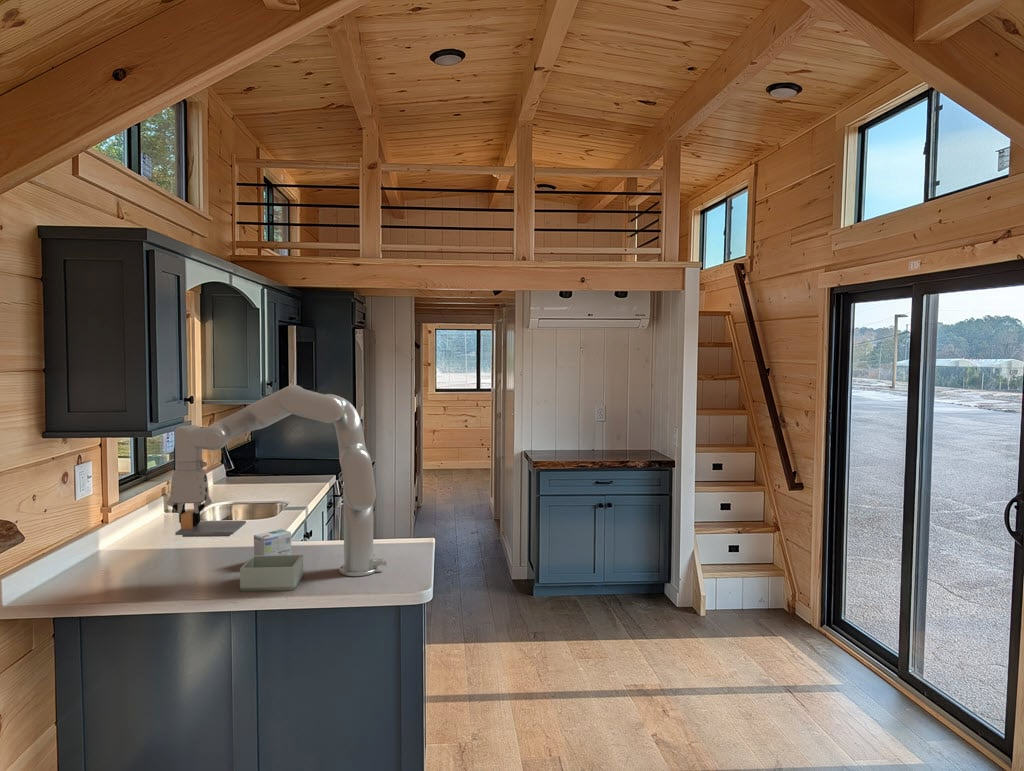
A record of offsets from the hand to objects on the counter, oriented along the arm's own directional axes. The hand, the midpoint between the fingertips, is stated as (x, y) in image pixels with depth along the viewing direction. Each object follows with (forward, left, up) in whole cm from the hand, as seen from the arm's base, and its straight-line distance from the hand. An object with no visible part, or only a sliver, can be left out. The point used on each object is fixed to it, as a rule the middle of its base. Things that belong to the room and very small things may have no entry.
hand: (189, 524), depth 214 cm
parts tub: (-25, 0, -19) cm, 31 cm away
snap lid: (-7, 0, -2) cm, 7 cm away
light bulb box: (-20, -20, -19) cm, 34 cm away
